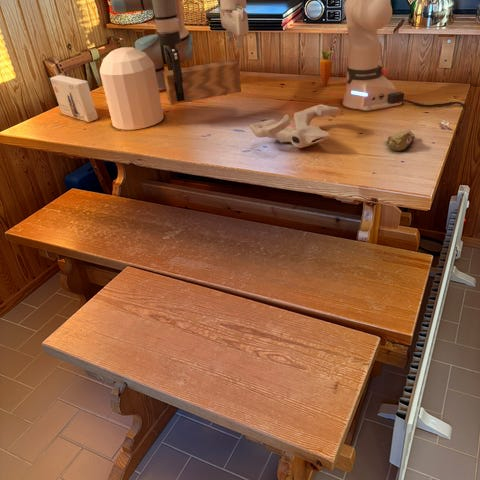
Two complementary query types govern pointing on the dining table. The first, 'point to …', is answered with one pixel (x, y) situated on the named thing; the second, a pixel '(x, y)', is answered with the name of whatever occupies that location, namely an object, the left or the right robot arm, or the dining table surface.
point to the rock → (400, 140)
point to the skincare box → (74, 97)
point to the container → (131, 89)
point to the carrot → (325, 67)
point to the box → (205, 81)
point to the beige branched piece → (297, 127)
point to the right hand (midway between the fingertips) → (235, 45)
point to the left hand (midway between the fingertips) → (178, 98)
